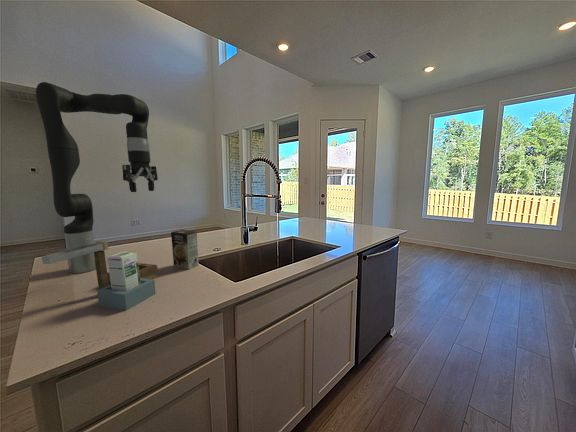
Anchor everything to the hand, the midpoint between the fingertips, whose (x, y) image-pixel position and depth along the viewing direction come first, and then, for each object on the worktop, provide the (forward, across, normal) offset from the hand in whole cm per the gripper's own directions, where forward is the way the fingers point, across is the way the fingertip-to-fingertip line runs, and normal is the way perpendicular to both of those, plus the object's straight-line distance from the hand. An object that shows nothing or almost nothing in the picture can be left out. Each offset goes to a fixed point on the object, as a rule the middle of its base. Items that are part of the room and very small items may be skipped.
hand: (142, 191), depth 98 cm
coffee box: (+34, -9, +11) cm, 37 cm away
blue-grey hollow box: (+34, +22, +13) cm, 43 cm away
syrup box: (+33, +22, +13) cm, 42 cm away
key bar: (+18, +28, +2) cm, 33 cm away
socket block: (+34, +13, +2) cm, 37 cm away
